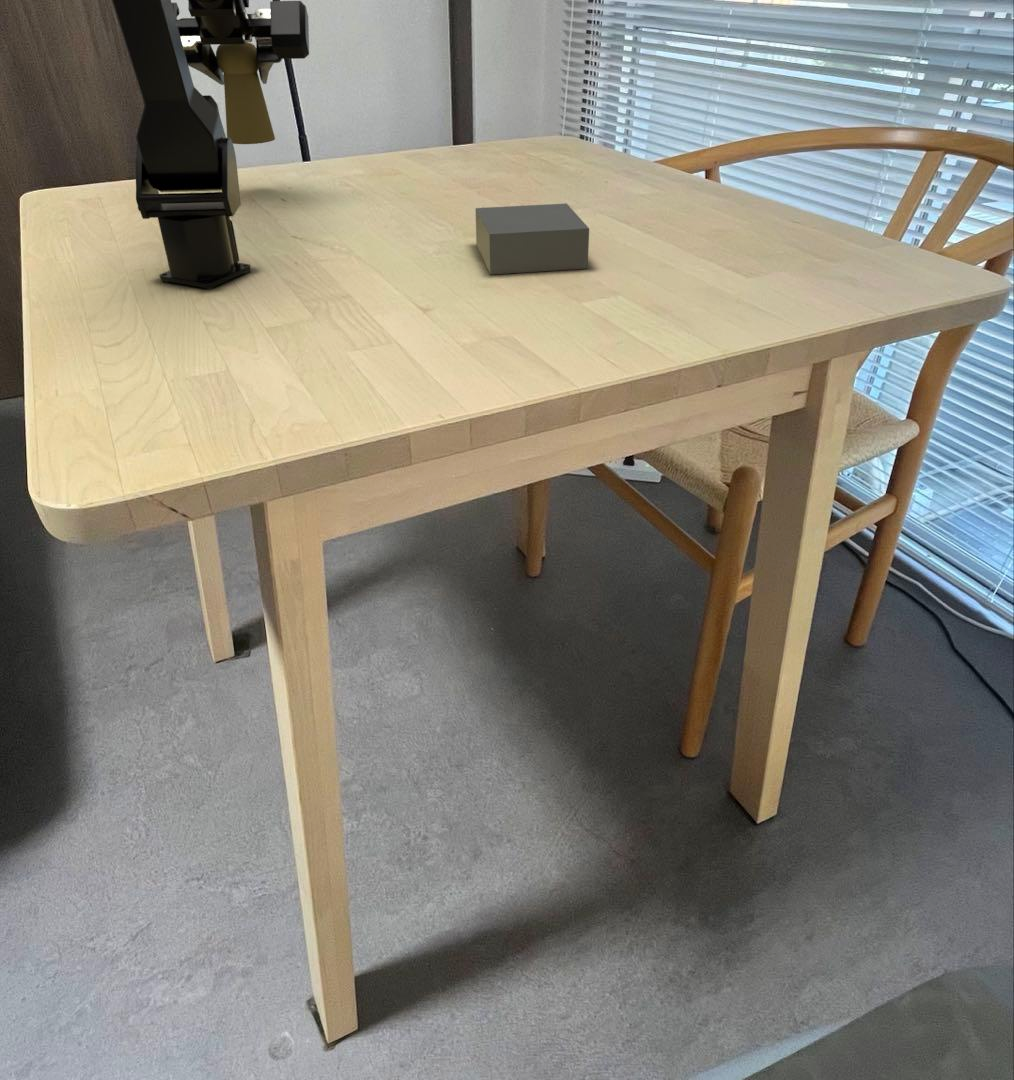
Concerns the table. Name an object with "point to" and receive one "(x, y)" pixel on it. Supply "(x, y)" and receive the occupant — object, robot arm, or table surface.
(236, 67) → the olive brown pawn
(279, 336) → the table surface
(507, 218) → the grey block
